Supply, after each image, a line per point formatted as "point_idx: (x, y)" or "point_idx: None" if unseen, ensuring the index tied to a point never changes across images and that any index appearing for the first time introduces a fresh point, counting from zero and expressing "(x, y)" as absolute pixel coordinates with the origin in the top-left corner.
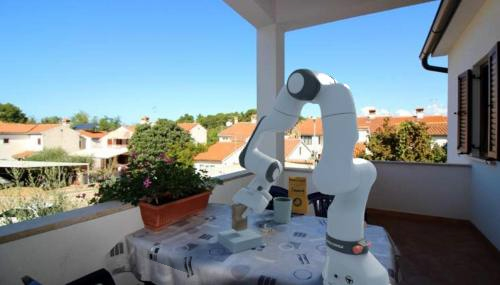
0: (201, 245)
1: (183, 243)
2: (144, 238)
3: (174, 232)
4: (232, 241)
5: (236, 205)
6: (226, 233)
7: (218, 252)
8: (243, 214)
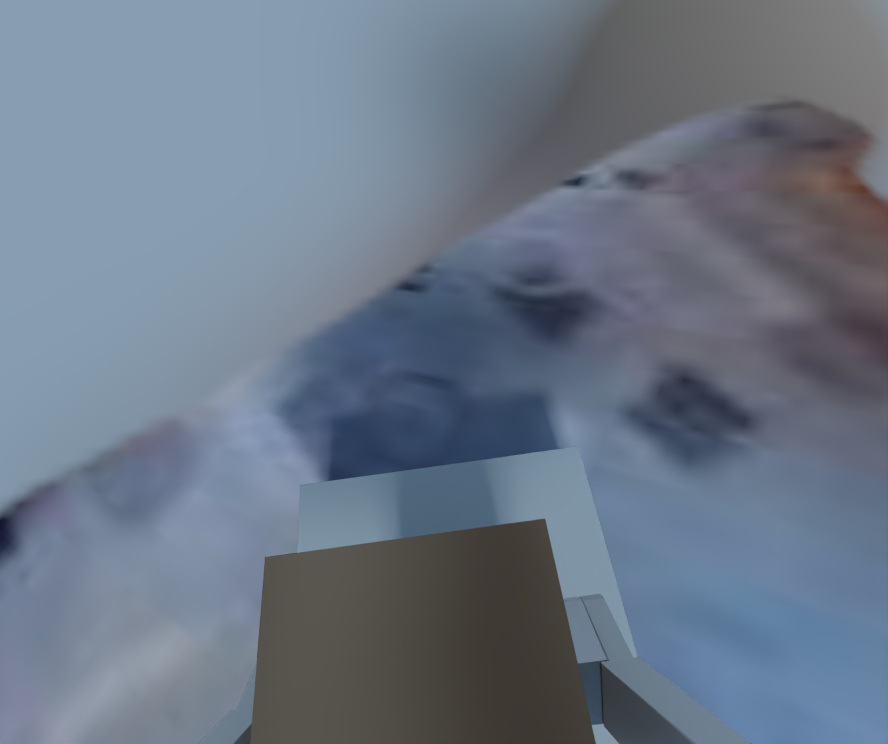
0: (535, 356)
1: (600, 277)
2: (725, 139)
3: (808, 253)
4: (337, 494)
5: (457, 627)
6: (526, 512)
7: (392, 420)
8: (252, 679)
